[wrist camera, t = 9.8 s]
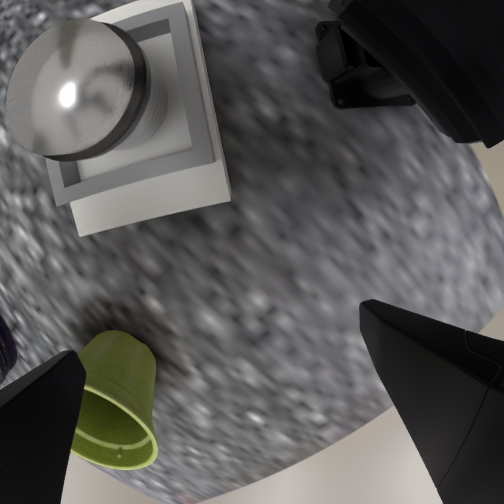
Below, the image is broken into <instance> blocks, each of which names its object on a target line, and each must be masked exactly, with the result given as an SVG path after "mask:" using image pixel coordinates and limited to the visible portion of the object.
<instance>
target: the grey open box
mask: <svg viewBox="0 0 504 504" xmlns="http://www.w3.org/2000/svg"><path fill="white" fill-rule="evenodd" d="M91 19H92V20H95V21H98V22H104V23H109V24H112V25H115V26H117V27H119V28H121V29H123V30H124V31H125V32H126V33H128V34H129V35H130V36H131V37H132V38H133V39H134V40H135V41H136V42H137V44H138V45H139V46H140V47H141V48H142V50H143V51H144V53H145V54H146V57H147V59H148V61H149V65H150V66H151V67H152V68H153V69H154V70H155V71H156V72H157V73H158V74H159V75H160V76H161V77H162V79H163V81H164V82H165V85H166V87H167V91H168V109H167V113H166V116H165V118H164V121H163V123H162V125H161V126H160V128H159V129H158V131H157V132H156V133H155V134H154V135H153V136H152V137H151V138H150V139H149V140H148V141H146V142H145V143H143V144H141V145H140V146H138V147H135V148H132V149H128V150H119V151H109V152H108V153H106V154H104V155H101V156H99V157H96V158H92V159H87V160H79V161H71V162H60V161H54V160H51V159H48V158H46V157H45V158H46V163H47V168H48V173H49V177H50V182H51V186H52V190H53V194H54V198H55V202H56V206H57V207H58V206H61V205H63V204H66V203H69V202H70V205H71V208H72V212H73V216H74V219H75V223H76V226H77V230H78V233H79V236H80V237H82V236H85V235H89V234H93V233H97V232H100V231H104V230H108V229H112V228H116V227H120V226H123V225H127V224H131V223H135V222H140V221H144V220H148V219H152V218H156V217H160V216H165V215H169V214H173V213H178V212H182V211H186V210H191V209H195V208H200V207H205V206H209V205H214V204H219V203H224V202H228V201H231V187H230V182H229V177H228V173H227V168H226V163H225V158H224V153H223V148H222V143H221V138H220V133H219V128H218V123H217V118H216V113H215V108H214V103H213V98H212V93H211V88H210V83H209V78H208V73H207V68H206V63H205V58H204V53H203V48H202V43H201V37H200V32H199V27H198V22H197V17H196V12H195V9H194V5H193V2H192V0H138V1H135V2H132V3H129V4H126V5H124V6H121V7H118V8H115V9H113V10H110V11H108V12H105V13H103V14H100V15H98V16H95V17H93V18H91Z"/></svg>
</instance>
